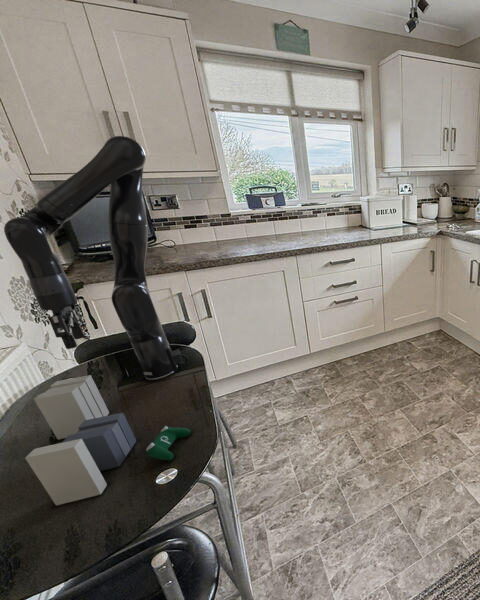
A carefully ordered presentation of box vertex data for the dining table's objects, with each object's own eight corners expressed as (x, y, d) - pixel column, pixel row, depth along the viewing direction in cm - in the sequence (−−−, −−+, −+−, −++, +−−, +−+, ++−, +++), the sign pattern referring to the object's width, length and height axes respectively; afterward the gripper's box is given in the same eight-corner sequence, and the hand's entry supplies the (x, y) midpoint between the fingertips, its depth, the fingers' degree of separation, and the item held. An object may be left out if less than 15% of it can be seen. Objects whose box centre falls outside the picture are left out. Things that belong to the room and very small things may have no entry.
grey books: (100, 449, 81) (84, 418, 78) (136, 440, 83) (122, 411, 79) (79, 476, 74) (60, 444, 70) (119, 466, 75) (103, 434, 72)
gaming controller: (185, 439, 85) (163, 428, 83) (193, 429, 84) (170, 418, 82) (165, 468, 76) (139, 457, 74) (172, 458, 75) (147, 447, 73)
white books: (77, 419, 93) (56, 381, 88) (109, 412, 95) (90, 374, 90) (57, 439, 86) (33, 399, 81) (93, 432, 87) (71, 392, 83)
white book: (63, 495, 69) (34, 448, 64) (107, 484, 71) (81, 438, 66) (56, 505, 67) (24, 458, 62) (101, 494, 69) (73, 447, 64)
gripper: (63, 293, 87) (87, 347, 92) (78, 283, 99) (98, 331, 104) (24, 299, 83) (50, 355, 89) (44, 288, 95) (66, 338, 100)
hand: (76, 342), depth 96 cm, fingers open, 8 cm apart
